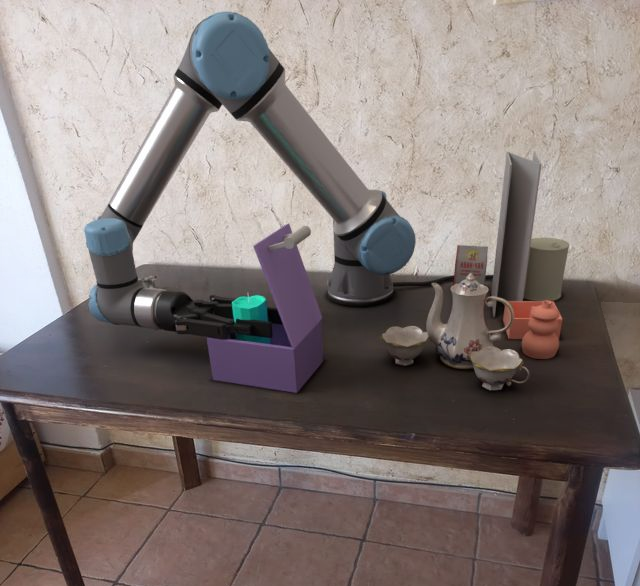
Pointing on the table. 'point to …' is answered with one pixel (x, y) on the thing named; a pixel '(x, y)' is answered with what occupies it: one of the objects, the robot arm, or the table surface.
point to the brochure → (515, 226)
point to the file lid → (289, 281)
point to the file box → (267, 360)
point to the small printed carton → (470, 263)
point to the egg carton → (147, 282)
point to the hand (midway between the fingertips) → (278, 323)
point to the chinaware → (460, 336)
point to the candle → (250, 314)
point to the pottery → (535, 327)
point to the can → (545, 269)
